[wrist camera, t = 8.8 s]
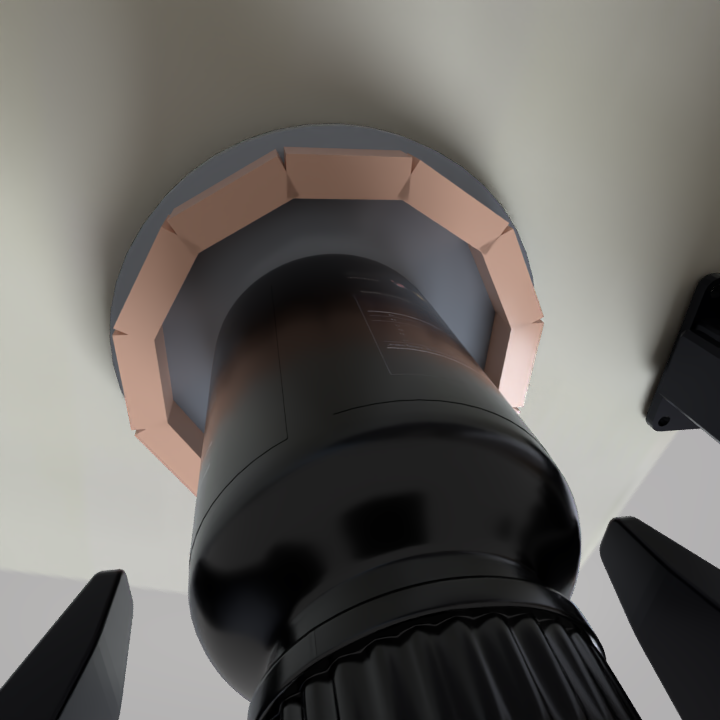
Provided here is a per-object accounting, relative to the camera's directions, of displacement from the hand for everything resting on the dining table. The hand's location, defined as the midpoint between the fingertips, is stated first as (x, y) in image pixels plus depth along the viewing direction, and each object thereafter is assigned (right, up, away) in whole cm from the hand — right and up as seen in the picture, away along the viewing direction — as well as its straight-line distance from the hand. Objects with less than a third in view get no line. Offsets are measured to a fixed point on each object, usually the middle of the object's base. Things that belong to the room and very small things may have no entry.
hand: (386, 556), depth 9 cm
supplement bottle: (-1, +4, +7) cm, 8 cm away
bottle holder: (-1, +4, +7) cm, 9 cm away
